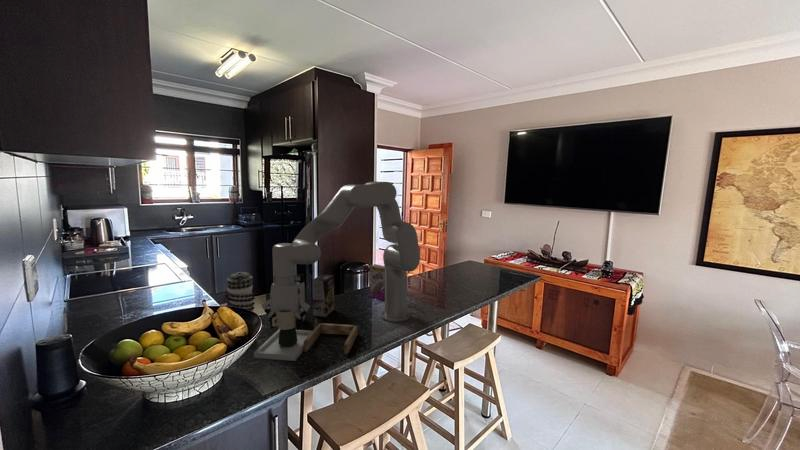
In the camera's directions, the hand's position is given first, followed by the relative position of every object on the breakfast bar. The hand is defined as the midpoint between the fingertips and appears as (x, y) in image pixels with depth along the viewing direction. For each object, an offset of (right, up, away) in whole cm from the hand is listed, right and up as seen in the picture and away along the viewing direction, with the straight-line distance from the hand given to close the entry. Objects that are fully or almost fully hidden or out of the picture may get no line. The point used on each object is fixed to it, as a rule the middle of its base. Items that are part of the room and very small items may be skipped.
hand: (286, 327), depth 114 cm
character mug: (0, -6, +1) cm, 6 cm away
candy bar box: (+30, -1, +51) cm, 59 cm away
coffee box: (+6, -3, +31) cm, 32 cm away
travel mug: (-3, -4, +22) cm, 23 cm away
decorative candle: (-17, -6, +3) cm, 18 cm away
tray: (0, -7, +1) cm, 7 cm away
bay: (+15, -7, +3) cm, 17 cm away
